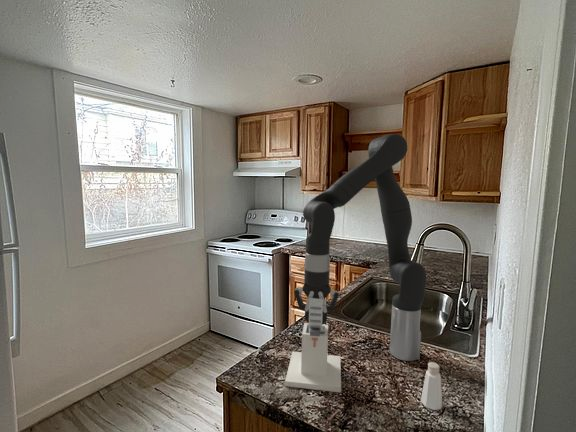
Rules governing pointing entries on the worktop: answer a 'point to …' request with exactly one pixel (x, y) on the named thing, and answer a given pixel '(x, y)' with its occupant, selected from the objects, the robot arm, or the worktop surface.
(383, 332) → the worktop surface
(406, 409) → the worktop surface
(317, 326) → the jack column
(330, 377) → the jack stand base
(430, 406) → the pepper shaker
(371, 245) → the worktop surface
